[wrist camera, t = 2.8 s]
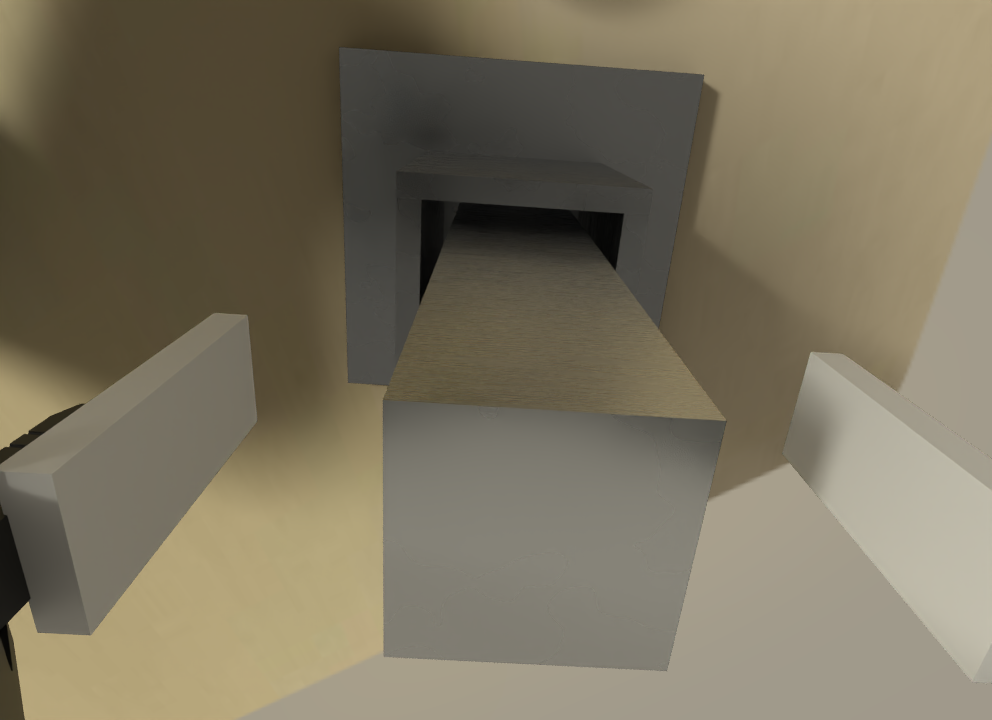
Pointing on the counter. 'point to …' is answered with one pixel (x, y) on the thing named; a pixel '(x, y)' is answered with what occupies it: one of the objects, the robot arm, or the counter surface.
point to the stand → (499, 172)
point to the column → (539, 457)
